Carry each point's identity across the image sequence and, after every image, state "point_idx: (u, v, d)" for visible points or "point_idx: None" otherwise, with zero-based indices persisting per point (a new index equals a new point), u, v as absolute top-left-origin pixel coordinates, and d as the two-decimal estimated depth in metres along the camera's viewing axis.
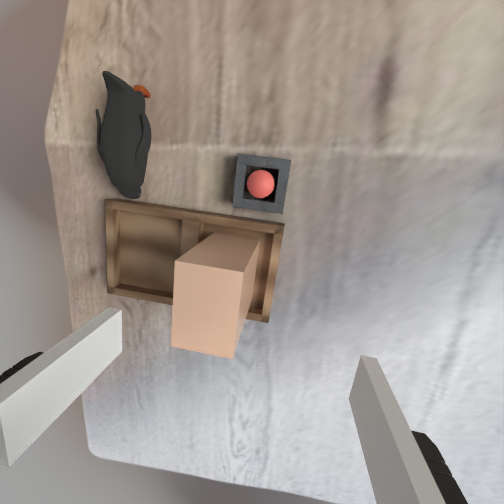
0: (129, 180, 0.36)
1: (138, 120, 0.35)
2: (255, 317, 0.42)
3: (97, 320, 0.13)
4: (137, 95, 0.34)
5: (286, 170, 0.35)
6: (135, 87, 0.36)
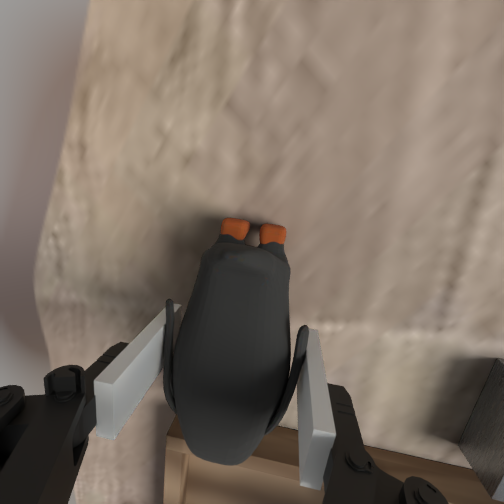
0: (241, 462, 0.14)
1: (284, 334, 0.13)
2: None
3: (164, 314, 0.15)
4: (286, 271, 0.12)
5: None
6: (266, 232, 0.14)
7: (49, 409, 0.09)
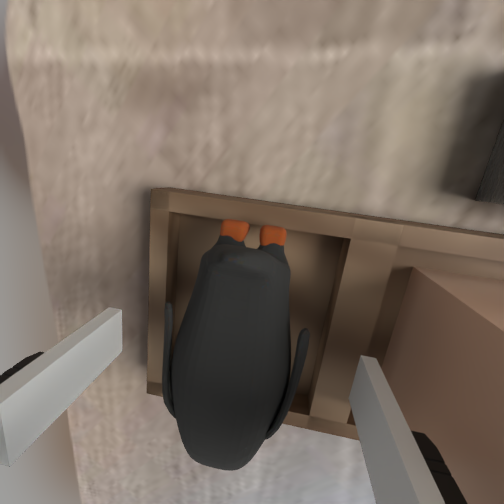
0: (241, 467, 0.14)
1: (284, 337, 0.13)
2: None
3: (97, 320, 0.13)
4: (286, 273, 0.12)
5: None
6: (267, 234, 0.14)
7: None
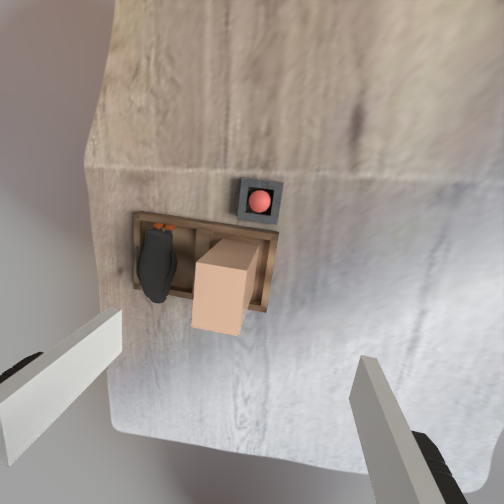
0: (160, 296, 0.48)
1: (168, 255, 0.46)
2: (255, 308, 0.51)
3: (97, 320, 0.13)
4: (168, 237, 0.46)
5: (279, 191, 0.45)
6: (166, 227, 0.47)
7: None
